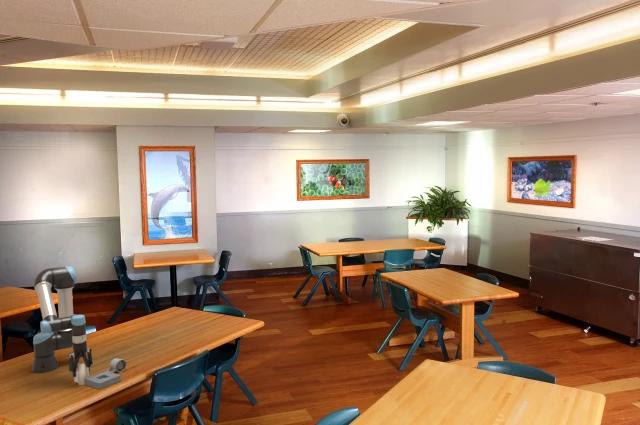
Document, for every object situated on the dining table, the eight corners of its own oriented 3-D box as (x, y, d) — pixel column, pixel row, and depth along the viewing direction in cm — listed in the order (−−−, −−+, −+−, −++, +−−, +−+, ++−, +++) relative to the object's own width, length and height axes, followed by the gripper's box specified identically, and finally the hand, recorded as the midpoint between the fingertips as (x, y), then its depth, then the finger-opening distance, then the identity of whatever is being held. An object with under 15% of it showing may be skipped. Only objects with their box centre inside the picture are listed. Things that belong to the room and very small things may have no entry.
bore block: (85, 384, 309) (84, 378, 308) (105, 376, 320) (105, 371, 320) (100, 389, 301) (99, 383, 301) (120, 380, 313) (120, 375, 313)
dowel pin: (76, 384, 310) (75, 364, 309) (83, 382, 313) (81, 362, 312) (81, 385, 307) (79, 365, 307) (87, 383, 311) (86, 363, 310)
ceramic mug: (119, 367, 336) (118, 355, 335) (127, 369, 331) (126, 358, 330) (104, 372, 327) (103, 360, 327) (111, 375, 323) (111, 363, 322)
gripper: (67, 347, 298) (70, 386, 300) (98, 338, 315) (100, 375, 316) (60, 345, 302) (62, 384, 304) (90, 336, 319) (92, 373, 320)
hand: (81, 379), depth 310 cm, fingers open, 6 cm apart
